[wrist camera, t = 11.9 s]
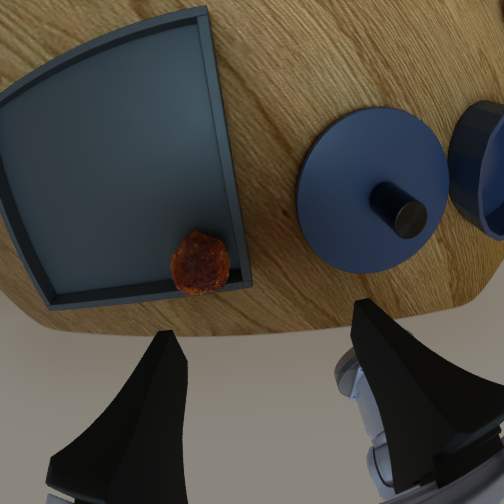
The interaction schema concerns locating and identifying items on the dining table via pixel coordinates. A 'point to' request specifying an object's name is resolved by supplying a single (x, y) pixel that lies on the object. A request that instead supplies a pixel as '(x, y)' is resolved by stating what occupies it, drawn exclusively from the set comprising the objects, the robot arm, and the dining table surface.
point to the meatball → (200, 265)
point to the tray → (120, 164)
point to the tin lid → (372, 190)
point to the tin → (479, 167)
